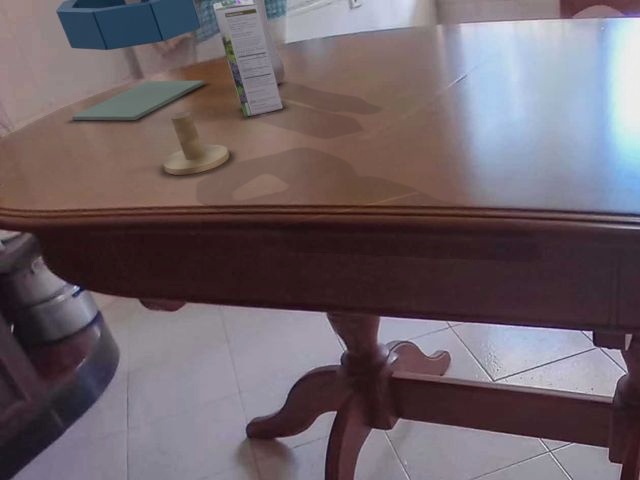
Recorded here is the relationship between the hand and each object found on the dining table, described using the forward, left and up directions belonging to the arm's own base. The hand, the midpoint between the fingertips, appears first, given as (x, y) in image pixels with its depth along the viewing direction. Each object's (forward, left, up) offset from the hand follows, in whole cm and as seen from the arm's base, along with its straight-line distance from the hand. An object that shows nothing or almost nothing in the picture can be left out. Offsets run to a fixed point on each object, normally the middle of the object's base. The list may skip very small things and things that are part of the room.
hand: (135, 2), depth 89 cm
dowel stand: (+2, -13, -17) cm, 22 cm away
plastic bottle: (+14, +17, -17) cm, 28 cm away
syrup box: (+12, +5, -17) cm, 21 cm away
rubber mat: (-6, +23, -17) cm, 29 cm away
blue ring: (0, -6, -2) cm, 7 cm away
